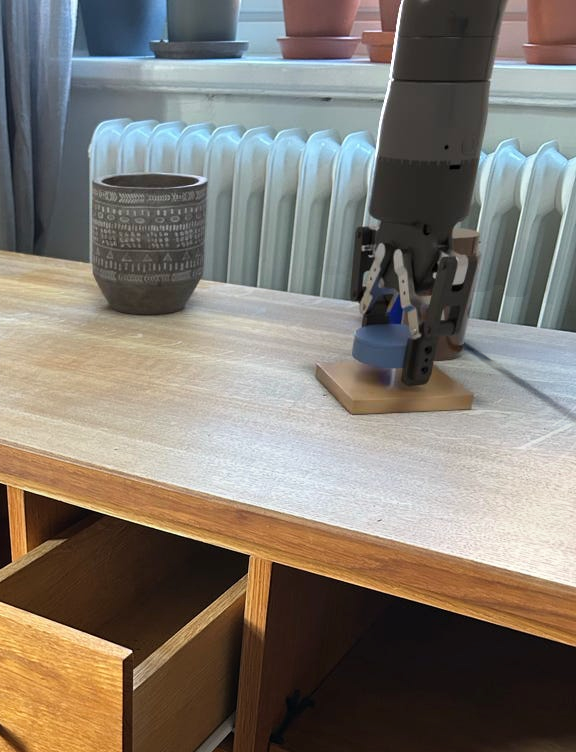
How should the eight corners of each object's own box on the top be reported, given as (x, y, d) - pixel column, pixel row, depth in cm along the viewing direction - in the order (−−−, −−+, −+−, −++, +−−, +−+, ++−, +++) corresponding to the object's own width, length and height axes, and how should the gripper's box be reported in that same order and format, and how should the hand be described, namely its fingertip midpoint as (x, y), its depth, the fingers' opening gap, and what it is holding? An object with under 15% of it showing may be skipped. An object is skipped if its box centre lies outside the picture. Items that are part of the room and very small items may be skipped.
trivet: (422, 371, 86) (425, 358, 85) (471, 409, 77) (474, 394, 77) (314, 376, 85) (316, 362, 84) (351, 414, 77) (353, 400, 76)
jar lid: (349, 365, 78) (352, 342, 77) (354, 343, 83) (356, 321, 82) (432, 370, 76) (436, 347, 75) (431, 347, 81) (435, 325, 80)
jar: (445, 341, 94) (468, 225, 88) (472, 359, 89) (497, 237, 83) (387, 343, 93) (405, 227, 88) (410, 361, 88) (431, 239, 83)
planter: (70, 304, 107) (67, 179, 100) (148, 287, 114) (150, 168, 107) (145, 325, 99) (148, 191, 92) (224, 305, 106) (232, 179, 99)
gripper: (336, 142, 76) (312, 351, 85) (438, 163, 65) (397, 403, 74) (419, 138, 78) (386, 344, 87) (533, 159, 66) (481, 394, 75)
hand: (391, 370), depth 80 cm, fingers closed on jar lid, 6 cm apart
